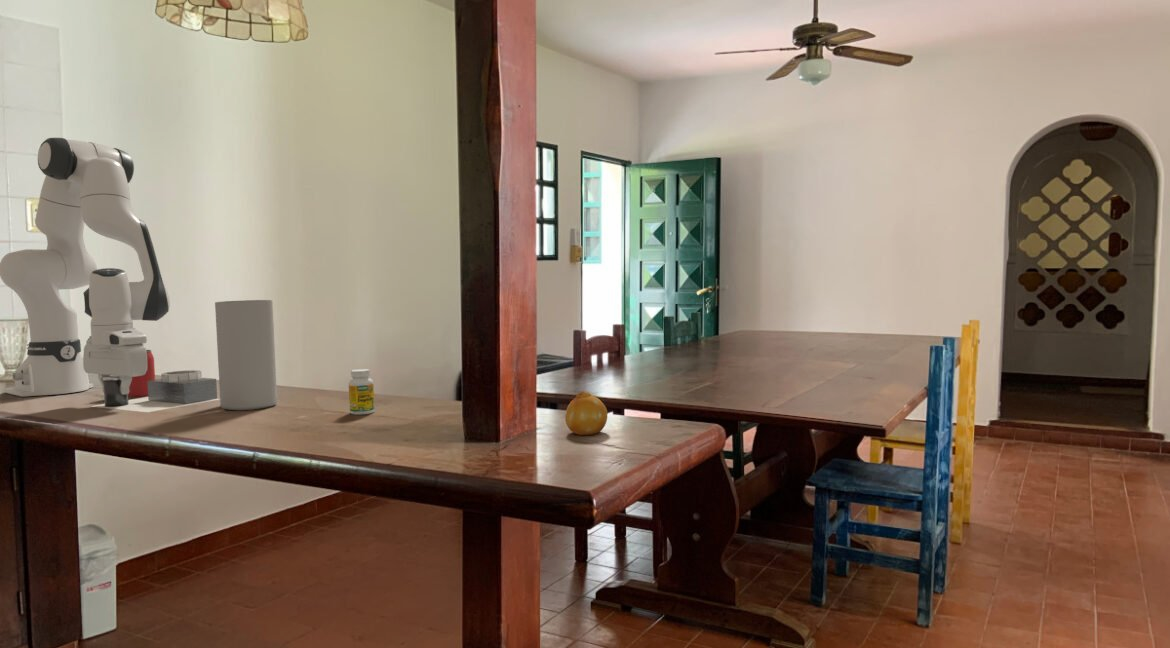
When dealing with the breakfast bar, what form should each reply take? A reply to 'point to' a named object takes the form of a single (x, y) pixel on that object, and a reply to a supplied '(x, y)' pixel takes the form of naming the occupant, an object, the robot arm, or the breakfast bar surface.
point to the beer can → (143, 379)
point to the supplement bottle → (361, 392)
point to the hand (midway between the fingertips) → (116, 393)
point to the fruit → (586, 414)
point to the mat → (148, 405)
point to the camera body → (182, 387)
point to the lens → (113, 392)
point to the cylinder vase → (246, 354)
